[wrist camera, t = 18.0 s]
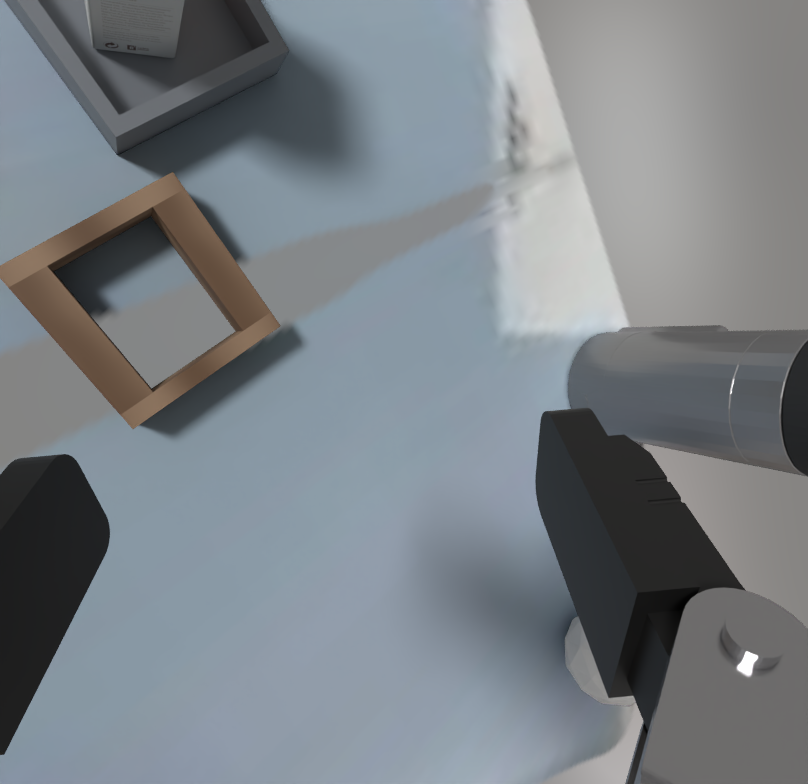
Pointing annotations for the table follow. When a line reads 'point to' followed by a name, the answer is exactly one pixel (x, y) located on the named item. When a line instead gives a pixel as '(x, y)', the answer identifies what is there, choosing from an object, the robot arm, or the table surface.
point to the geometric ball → (587, 667)
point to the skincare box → (135, 25)
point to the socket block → (83, 334)
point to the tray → (156, 64)
